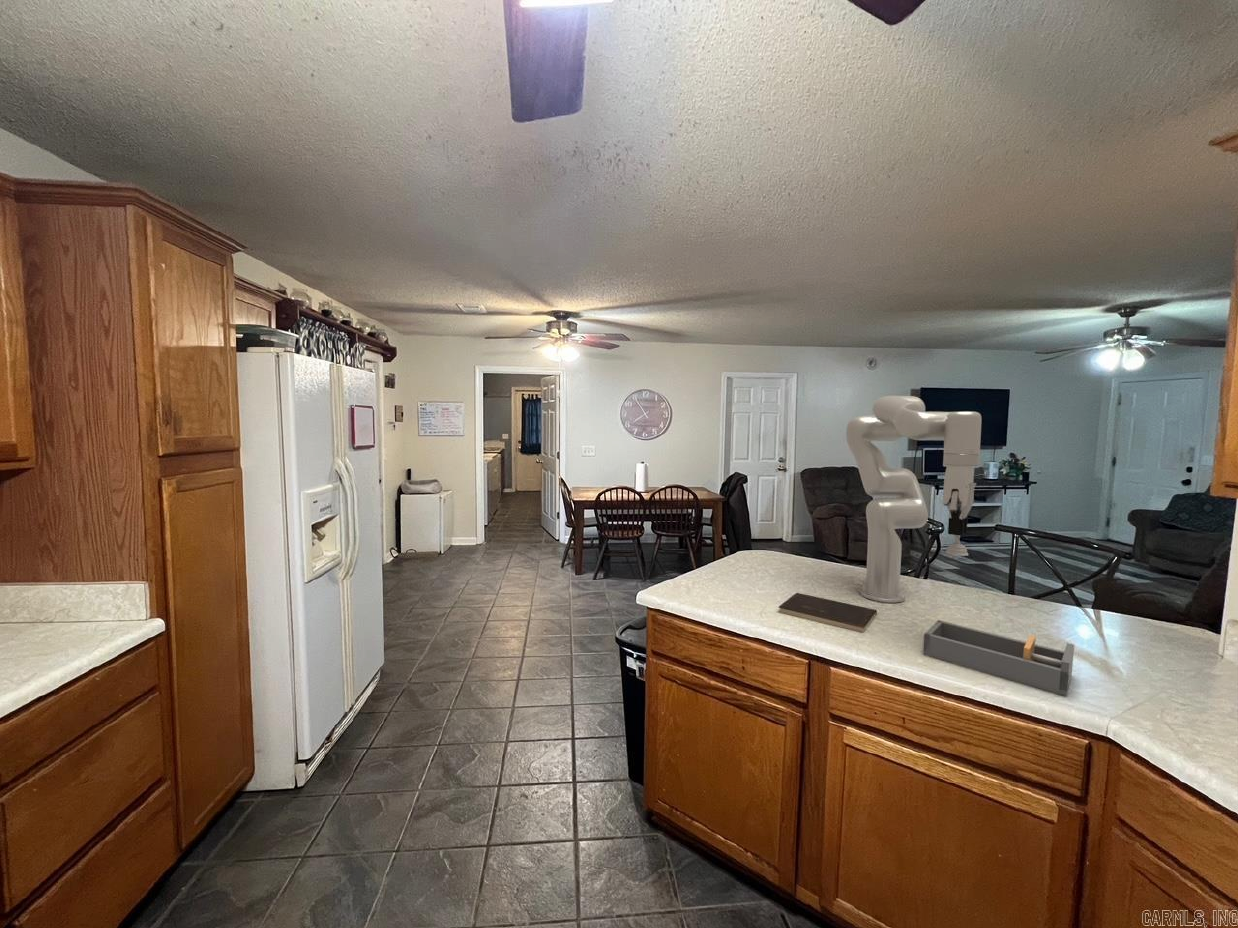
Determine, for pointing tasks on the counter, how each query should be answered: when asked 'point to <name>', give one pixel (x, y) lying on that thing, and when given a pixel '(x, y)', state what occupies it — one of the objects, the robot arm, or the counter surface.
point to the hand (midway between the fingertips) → (957, 532)
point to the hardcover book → (828, 611)
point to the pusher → (1030, 655)
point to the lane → (999, 656)
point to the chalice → (957, 547)
